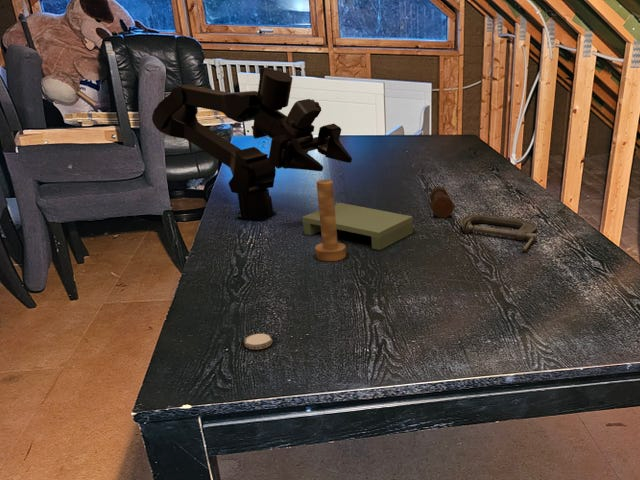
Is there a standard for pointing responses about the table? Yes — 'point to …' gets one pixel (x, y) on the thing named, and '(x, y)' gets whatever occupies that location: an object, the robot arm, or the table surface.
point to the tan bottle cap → (258, 341)
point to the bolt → (441, 202)
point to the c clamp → (521, 234)
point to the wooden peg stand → (328, 225)
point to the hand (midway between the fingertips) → (337, 164)
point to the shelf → (365, 224)
